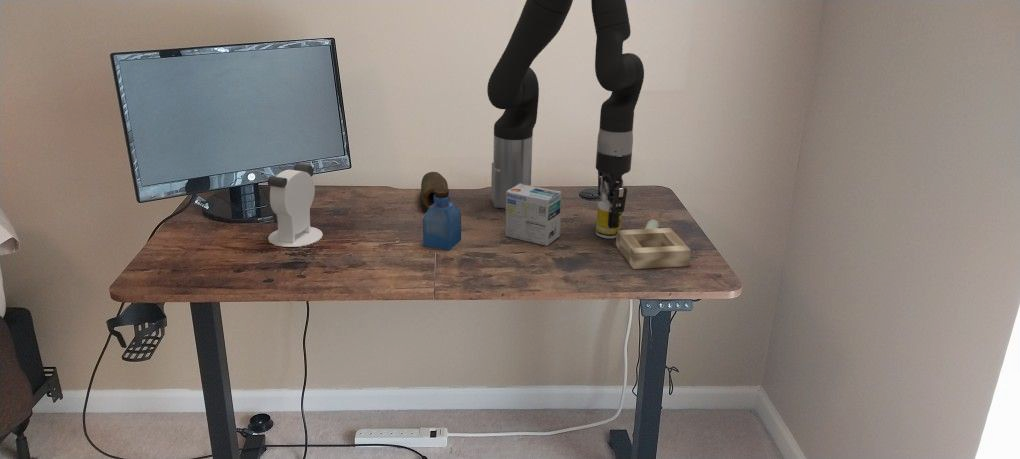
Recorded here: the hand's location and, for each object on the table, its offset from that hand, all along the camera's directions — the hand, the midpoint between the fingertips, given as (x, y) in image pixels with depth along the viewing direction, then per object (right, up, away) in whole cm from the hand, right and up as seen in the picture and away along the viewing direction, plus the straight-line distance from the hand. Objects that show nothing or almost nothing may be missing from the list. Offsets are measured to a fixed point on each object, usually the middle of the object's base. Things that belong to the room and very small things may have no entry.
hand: (608, 222), depth 173 cm
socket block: (+8, -7, -9) cm, 14 cm away
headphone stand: (-68, -3, -4) cm, 68 cm away
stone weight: (-40, +5, +18) cm, 44 cm away
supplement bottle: (0, -3, +1) cm, 3 cm away
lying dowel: (+8, -2, +1) cm, 9 cm away
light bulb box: (-17, -3, -1) cm, 17 cm away
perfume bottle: (-37, -5, -5) cm, 37 cm away
